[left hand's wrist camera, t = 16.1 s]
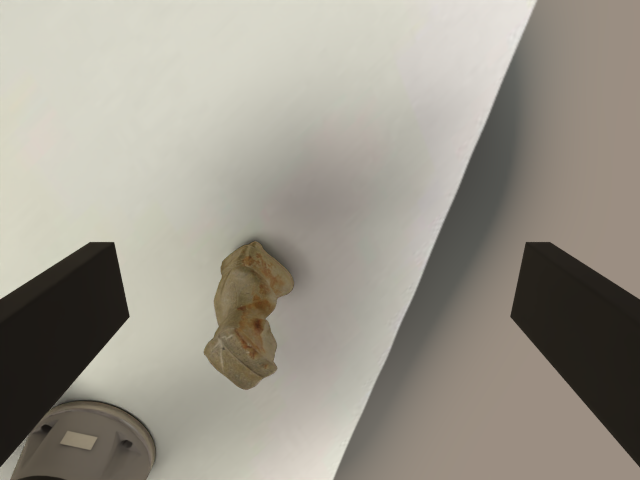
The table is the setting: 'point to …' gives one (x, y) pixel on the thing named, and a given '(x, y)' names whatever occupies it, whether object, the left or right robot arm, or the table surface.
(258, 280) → the sculpture
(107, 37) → the table surface
